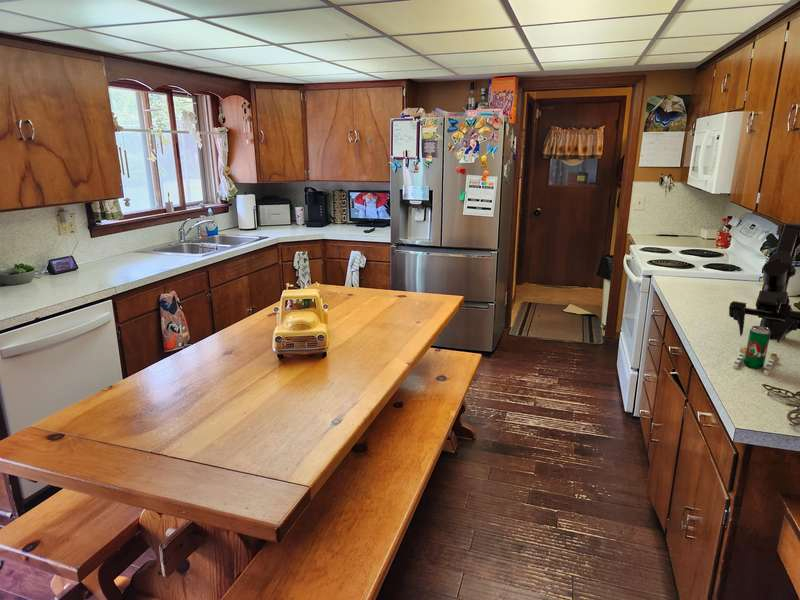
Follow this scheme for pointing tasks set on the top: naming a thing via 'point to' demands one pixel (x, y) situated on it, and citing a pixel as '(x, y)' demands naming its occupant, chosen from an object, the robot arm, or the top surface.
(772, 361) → the fader track
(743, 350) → the tabs
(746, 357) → the soda can
